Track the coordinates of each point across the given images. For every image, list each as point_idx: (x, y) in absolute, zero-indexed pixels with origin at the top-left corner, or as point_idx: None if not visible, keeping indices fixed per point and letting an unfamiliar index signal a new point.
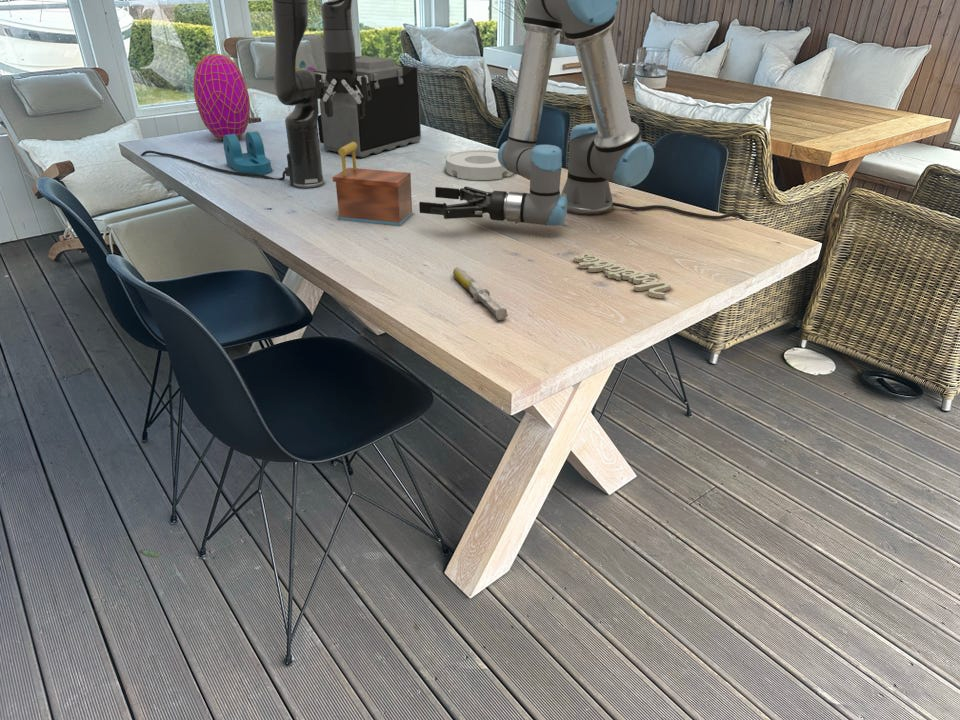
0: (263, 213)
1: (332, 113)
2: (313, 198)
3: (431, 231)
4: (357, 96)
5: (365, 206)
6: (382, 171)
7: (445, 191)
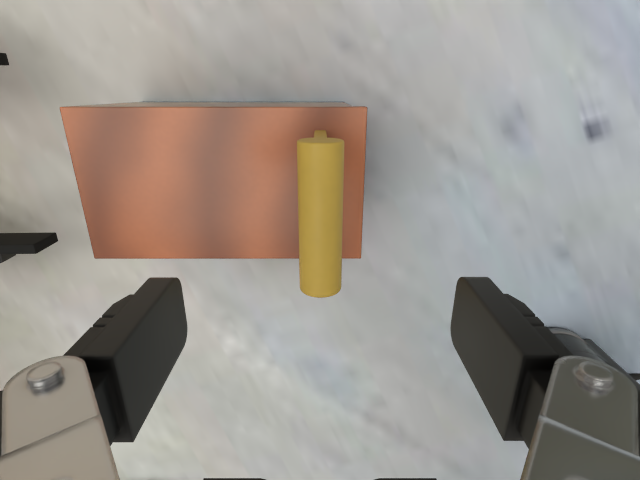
0: (601, 84)
1: (458, 339)
2: (490, 258)
3: (28, 79)
4: (15, 434)
5: (242, 103)
6: (205, 244)
7: (4, 240)
